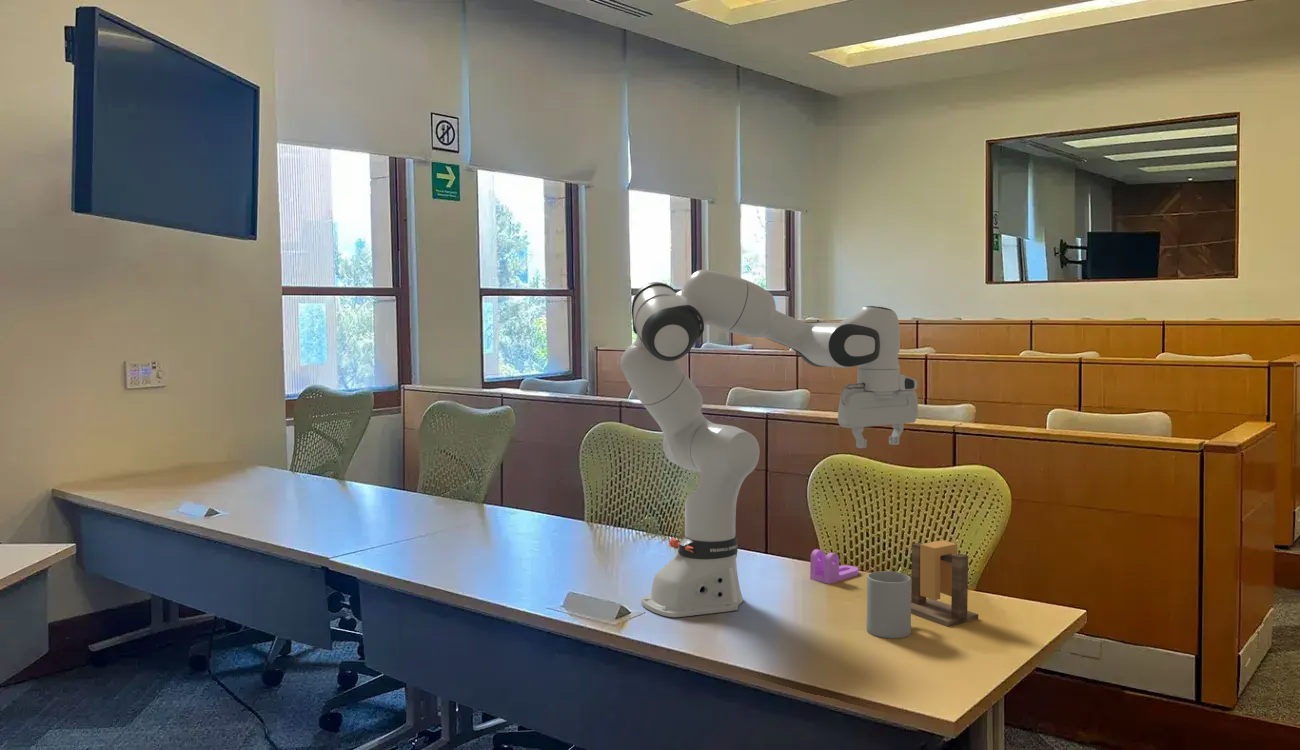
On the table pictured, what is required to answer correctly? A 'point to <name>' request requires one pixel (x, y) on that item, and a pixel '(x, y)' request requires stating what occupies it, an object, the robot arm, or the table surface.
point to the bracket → (829, 568)
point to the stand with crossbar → (935, 608)
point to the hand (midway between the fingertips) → (877, 446)
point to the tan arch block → (936, 569)
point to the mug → (888, 604)
